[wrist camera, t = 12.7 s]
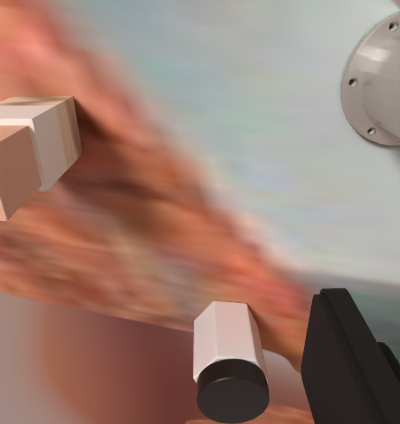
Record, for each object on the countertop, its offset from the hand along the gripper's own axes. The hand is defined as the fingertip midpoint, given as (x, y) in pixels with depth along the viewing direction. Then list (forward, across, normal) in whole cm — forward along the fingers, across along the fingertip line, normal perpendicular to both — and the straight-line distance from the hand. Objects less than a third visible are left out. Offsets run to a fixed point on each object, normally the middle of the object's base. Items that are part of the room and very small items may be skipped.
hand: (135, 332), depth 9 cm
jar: (+31, -5, +30) cm, 43 cm away
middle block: (+25, +14, +2) cm, 29 cm away
